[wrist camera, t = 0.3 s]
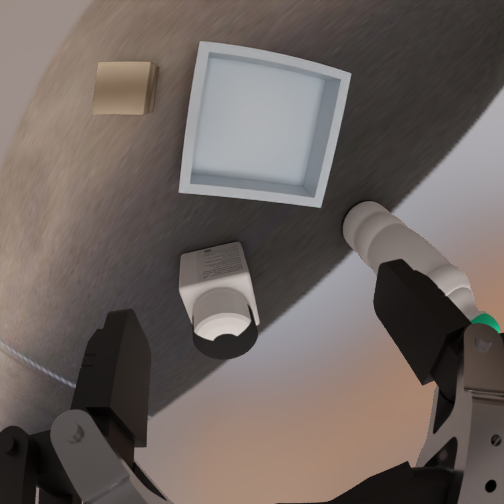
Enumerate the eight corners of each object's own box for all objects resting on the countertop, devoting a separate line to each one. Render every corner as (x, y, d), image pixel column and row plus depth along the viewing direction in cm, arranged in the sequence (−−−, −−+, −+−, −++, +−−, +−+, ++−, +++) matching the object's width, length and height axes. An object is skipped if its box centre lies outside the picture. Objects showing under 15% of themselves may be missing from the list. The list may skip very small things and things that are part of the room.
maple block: (115, 67, 26) (98, 62, 21) (159, 67, 27) (150, 61, 22) (109, 110, 28) (92, 114, 23) (153, 111, 29) (143, 114, 24)
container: (250, 288, 42) (269, 358, 31) (195, 300, 42) (199, 373, 31) (239, 239, 38) (259, 305, 27) (180, 253, 38) (176, 323, 27)
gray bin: (199, 48, 26) (200, 41, 22) (331, 74, 30) (351, 73, 26) (181, 179, 33) (178, 192, 29) (306, 193, 37) (320, 207, 32)
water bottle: (342, 251, 42) (445, 390, 21) (337, 206, 38) (466, 340, 17) (384, 238, 42) (497, 356, 21) (383, 194, 39) (520, 303, 17)
